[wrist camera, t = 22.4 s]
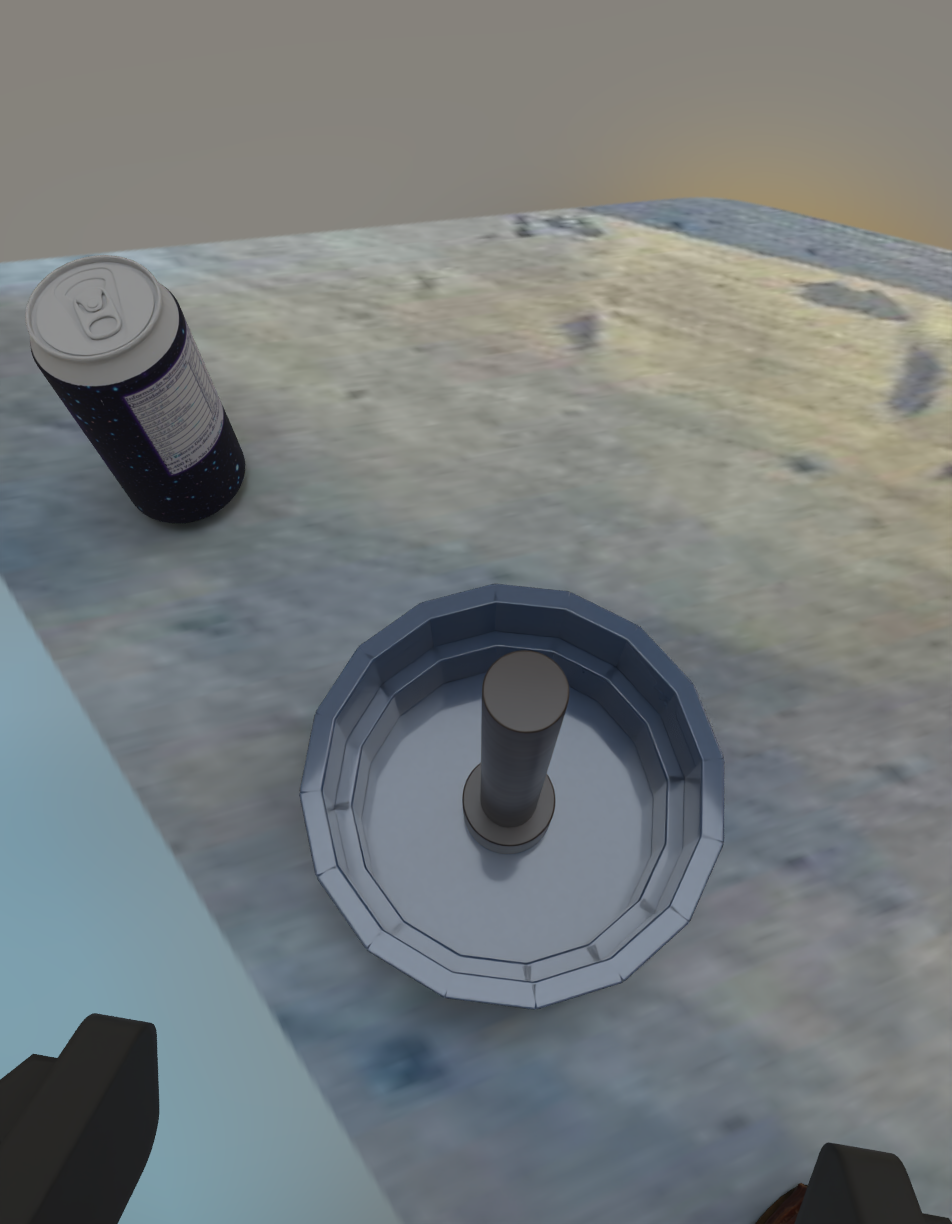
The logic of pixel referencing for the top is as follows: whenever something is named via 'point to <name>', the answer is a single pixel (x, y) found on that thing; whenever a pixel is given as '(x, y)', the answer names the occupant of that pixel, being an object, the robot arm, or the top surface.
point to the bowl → (578, 832)
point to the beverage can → (136, 385)
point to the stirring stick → (516, 752)
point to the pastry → (785, 1207)
